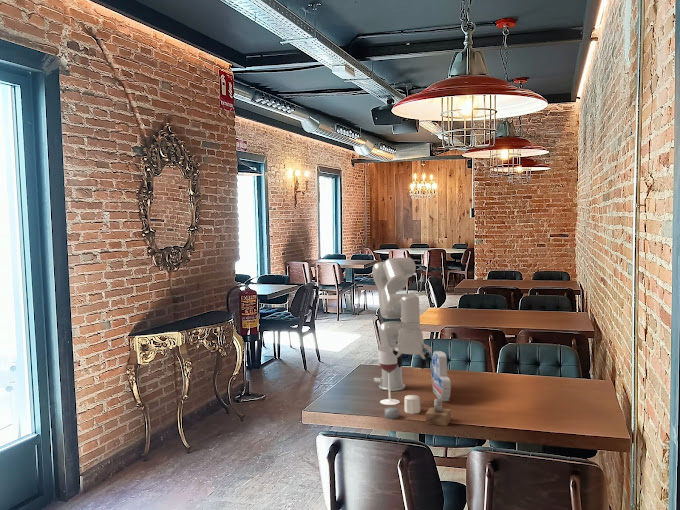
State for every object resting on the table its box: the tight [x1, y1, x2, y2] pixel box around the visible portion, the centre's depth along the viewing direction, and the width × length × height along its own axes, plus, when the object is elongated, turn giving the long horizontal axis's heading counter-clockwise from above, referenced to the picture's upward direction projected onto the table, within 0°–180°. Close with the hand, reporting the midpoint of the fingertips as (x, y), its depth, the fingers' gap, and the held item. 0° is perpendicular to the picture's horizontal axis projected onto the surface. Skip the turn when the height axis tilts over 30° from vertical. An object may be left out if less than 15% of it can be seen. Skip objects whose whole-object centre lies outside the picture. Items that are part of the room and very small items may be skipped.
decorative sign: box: [430, 350, 452, 403], centre depth 256 cm, size 24×3×20 cm, turn 3°
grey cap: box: [384, 406, 400, 420], centre depth 230 cm, size 6×6×3 cm
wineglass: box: [377, 347, 401, 406], centre depth 250 cm, size 9×10×23 cm
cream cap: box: [403, 394, 421, 415], centre depth 236 cm, size 6×6×6 cm
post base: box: [425, 398, 452, 426], centre depth 222 cm, size 8×8×8 cm
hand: (411, 367), depth 235 cm, fingers open, 9 cm apart
